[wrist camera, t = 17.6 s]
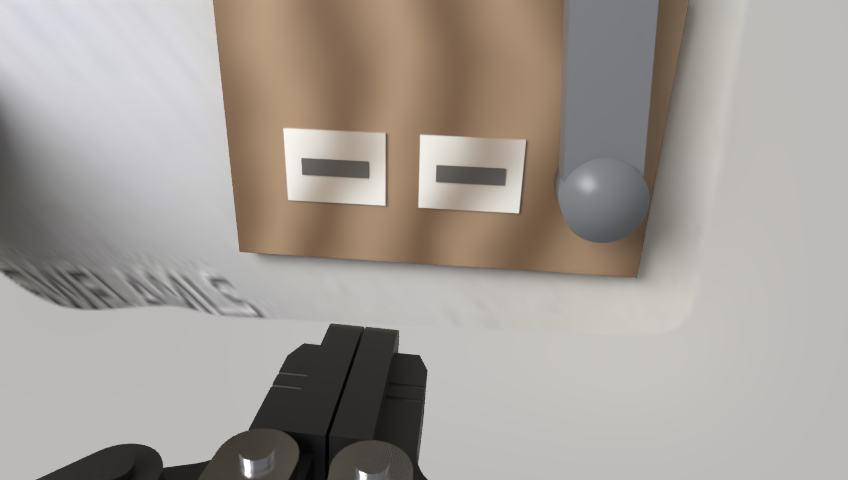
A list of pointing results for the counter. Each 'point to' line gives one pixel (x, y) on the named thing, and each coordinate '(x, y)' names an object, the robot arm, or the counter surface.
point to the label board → (413, 131)
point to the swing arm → (605, 116)
